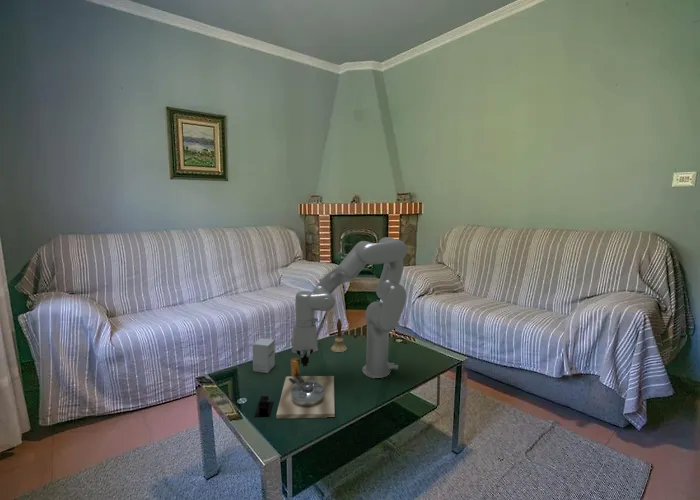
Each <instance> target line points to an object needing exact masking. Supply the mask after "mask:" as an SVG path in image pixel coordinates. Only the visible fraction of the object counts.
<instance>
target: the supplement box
mask: <svg viewBox="0 0 700 500" xmlns="http://www.w3.org/2000/svg"><path fill="white" fill-rule="evenodd" d="M275 344H276V343H275V339H274V338H273V339H271V338H261V337H260V338H259V339H257V340H256V341H255V342H254V343H252V371H253V372H255V373H256V372H257V373H263V374H264V373H265V374H269V373H270V372H271V370H272V369H273V368H274V367H275V365H276V364H275V358H276V357H275V349H276V348H275V347H276V346H275Z"/></svg>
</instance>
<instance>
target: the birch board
mask: <svg viewBox="0 0 700 500" xmlns="http://www.w3.org/2000/svg"><path fill="white" fill-rule="evenodd" d="M300 376H301V378H302V379H303V380H304V382H307V381H310V380H316V383H319V384H321V385H322V386H323V388H324V398H323V400H322V401H321V402H320V403H319V404H317V405H314V406H310V407H302V406H298V405H296V404H294V403H293V402H292V400H291V390H292V388H293V385H294V384H295V383H298V382H297V381H296V380H295V378H294V377H293V375H291V376H290V375H288V376H285V378H284V379H285V380H284V383H283V387H282V389H281V390H282V391H281V395H280V400H279V403H278V406H277V411H276V417H275V418H276V419H328V418H327V417H335V413H336V412H335V410H336V409H335V376H334V375H319V376H318V375H313V376H312V375H310V376H309V375H303V376H302V375H300Z"/></svg>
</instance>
